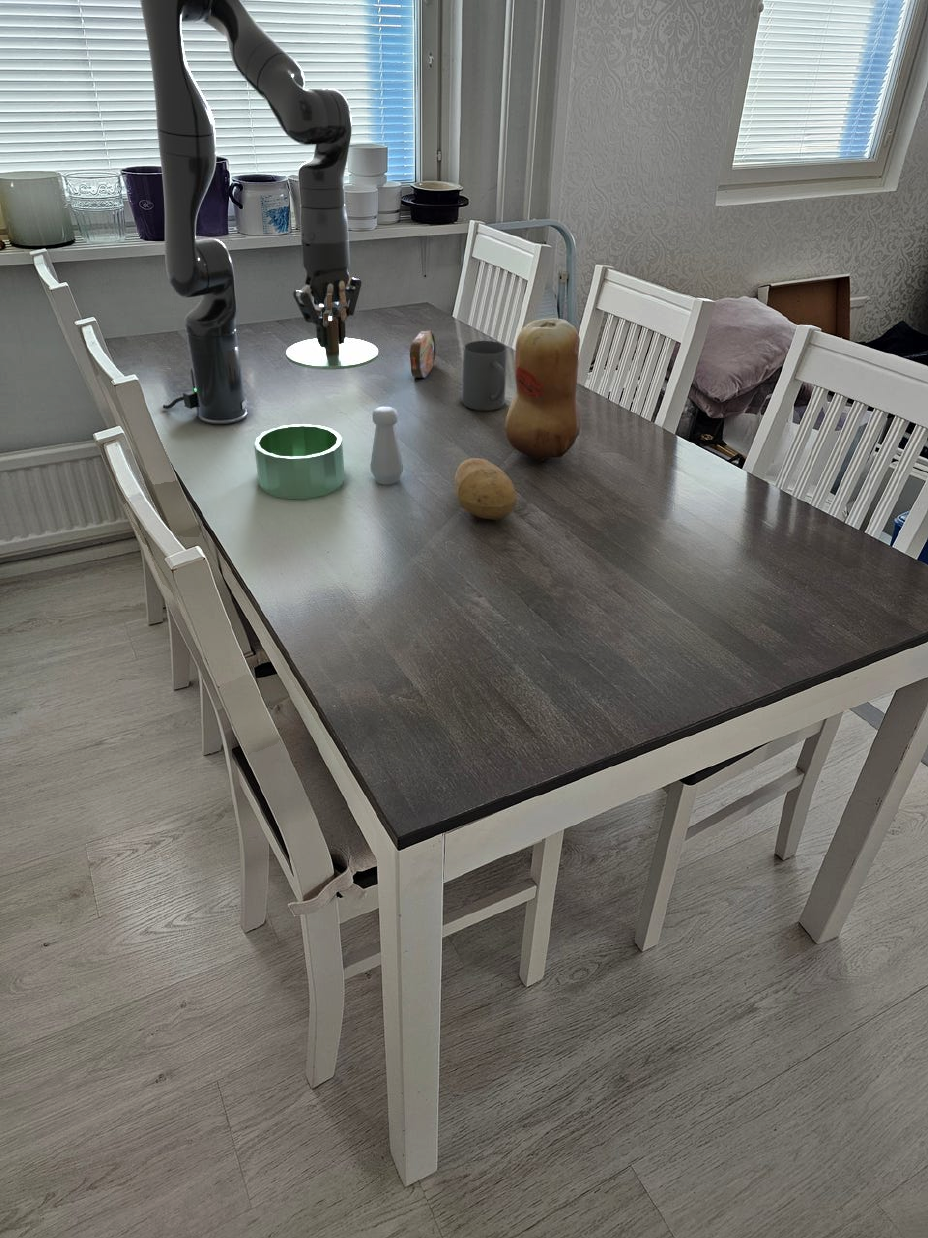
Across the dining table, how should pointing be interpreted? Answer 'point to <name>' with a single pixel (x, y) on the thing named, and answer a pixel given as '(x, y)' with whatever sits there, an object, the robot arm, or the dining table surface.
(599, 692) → the dining table surface
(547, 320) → the butternut squash
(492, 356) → the mug
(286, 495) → the pot
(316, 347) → the pot lid
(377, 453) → the salt shaker
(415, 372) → the tin
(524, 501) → the dining table surface
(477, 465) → the potato
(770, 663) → the dining table surface
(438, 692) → the dining table surface
